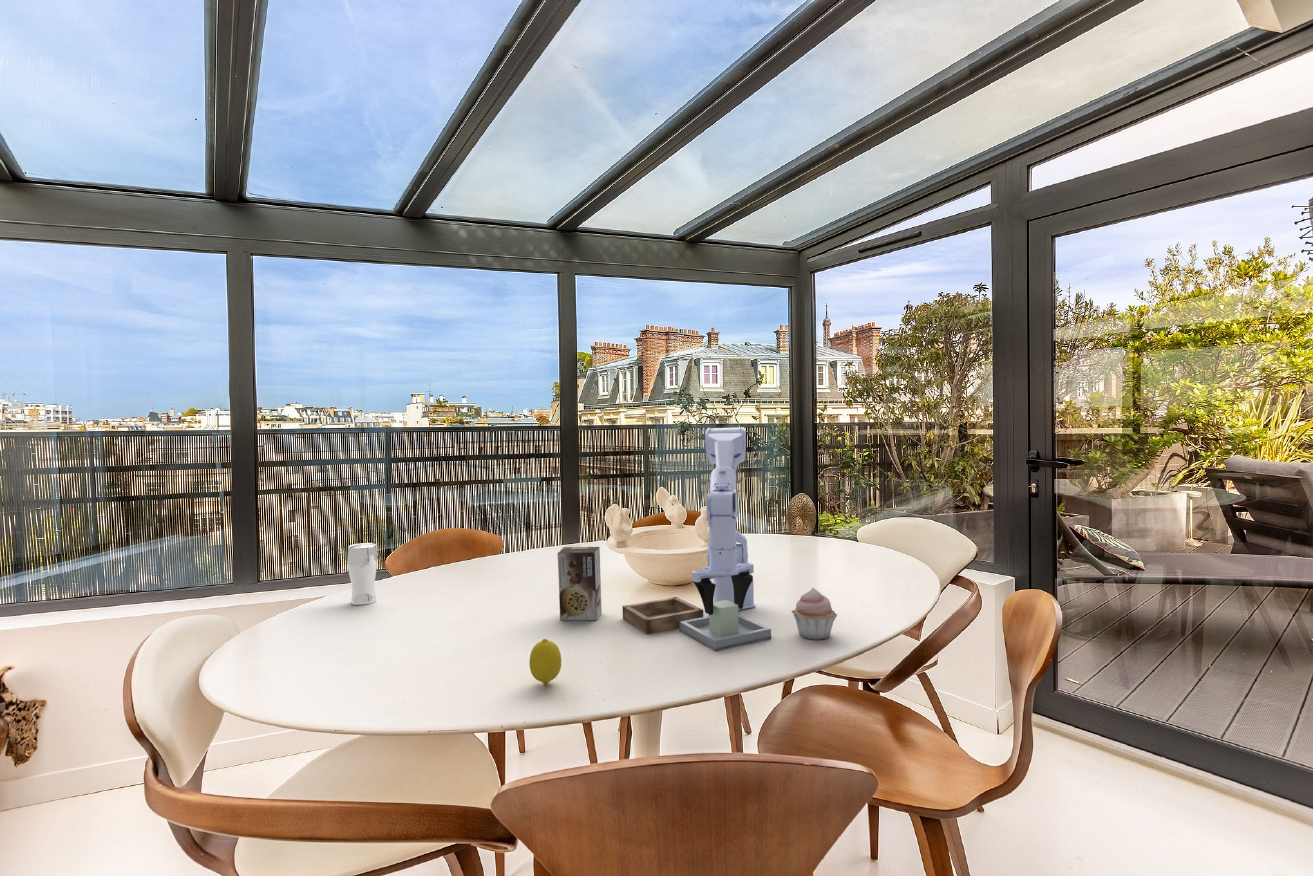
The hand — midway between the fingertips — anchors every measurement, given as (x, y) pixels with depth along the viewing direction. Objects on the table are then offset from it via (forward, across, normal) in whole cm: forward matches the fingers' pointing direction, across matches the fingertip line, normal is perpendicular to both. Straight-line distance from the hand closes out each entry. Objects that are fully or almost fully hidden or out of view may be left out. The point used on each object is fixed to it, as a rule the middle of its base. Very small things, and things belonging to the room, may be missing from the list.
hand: (724, 610), depth 132 cm
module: (+5, 0, 0) cm, 5 cm away
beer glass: (+5, -67, +70) cm, 97 cm away
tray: (+5, 0, 0) cm, 5 cm away
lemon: (+5, -41, -5) cm, 42 cm away
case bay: (+5, -7, +15) cm, 17 cm away
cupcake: (+5, +16, -10) cm, 20 cm away
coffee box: (+5, -22, +28) cm, 36 cm away
